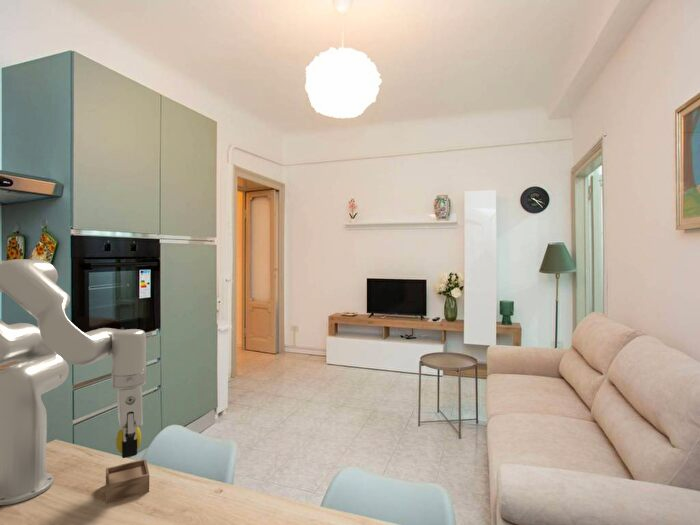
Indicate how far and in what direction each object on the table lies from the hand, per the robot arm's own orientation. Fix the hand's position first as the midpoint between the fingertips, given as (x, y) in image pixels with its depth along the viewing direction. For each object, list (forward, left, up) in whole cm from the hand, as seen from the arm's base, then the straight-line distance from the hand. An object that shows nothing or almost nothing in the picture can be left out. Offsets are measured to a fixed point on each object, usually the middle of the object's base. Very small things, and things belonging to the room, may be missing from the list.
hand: (128, 450), depth 97 cm
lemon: (0, 0, -1) cm, 1 cm away
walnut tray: (0, 0, -9) cm, 10 cm away
